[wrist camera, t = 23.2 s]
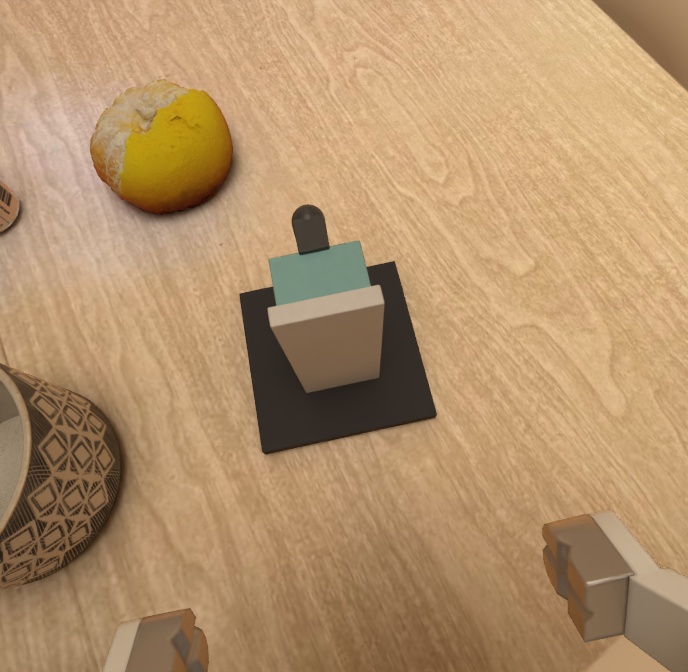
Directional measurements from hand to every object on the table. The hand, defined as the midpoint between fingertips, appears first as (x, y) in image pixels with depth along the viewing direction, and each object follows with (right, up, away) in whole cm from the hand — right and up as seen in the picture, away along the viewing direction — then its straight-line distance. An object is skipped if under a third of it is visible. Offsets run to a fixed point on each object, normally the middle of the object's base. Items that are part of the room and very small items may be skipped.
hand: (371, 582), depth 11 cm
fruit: (-15, +20, +31) cm, 40 cm away
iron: (-1, +5, +24) cm, 24 cm away
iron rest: (-1, +4, +25) cm, 25 cm away
